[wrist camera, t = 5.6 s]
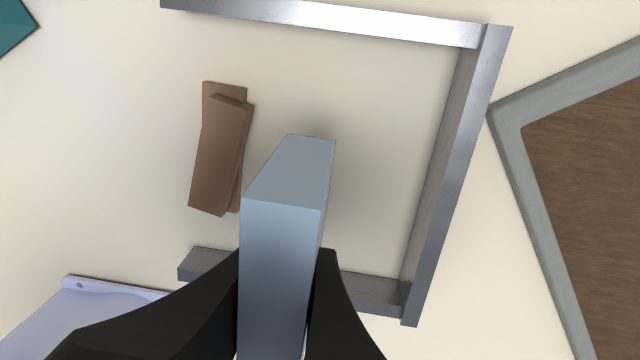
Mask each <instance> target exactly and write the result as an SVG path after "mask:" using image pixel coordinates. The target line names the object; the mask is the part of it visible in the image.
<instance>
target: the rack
mask: <svg viewBox="0 0 640 360" xmlns="http://www.w3.org/2000/svg"><path fill="white" fill-rule="evenodd" d="M160 8H167V9H173V10H179V11H186V12H193V13H201V14H208V15H216V16H224V17H231V18H239V19H247V20H254V21H262V22H270V23H277V24H285V25H292V26H300V27H308V28H315V29H323V30H331V31H338V32H346V33H354V34H361V35H369V36H376V37H384V38H392V39H399V40H407V41H415V42H422V43H430V44H438V45H445V46H453V47H460V48H461V51H460V55H459V59H458V62H457V66H456V70H455V73H454V77H453V81H452V84H451V88H450V92H449V96H448V99H447V103H446V107H445V110H444V114H443V118H442V121H441V125H440V129H439V132H438V136H437V140H436V143H435V147H434V151H433V154H432V158H431V162H430V166H429V169H428V173H427V177H426V180H425V184H424V188H423V191H422V195H421V199H420V202H419V206H418V210H417V213H416V217H415V221H414V225H413V228H412V232H411V236H410V239H409V243H408V247H407V250H406V254H405V258H404V261H403V265H402V269H401V272H400V276H399V280H395V279H389V278H383V277H377V276H371V275H365V274H359V273H353V272H347V271H341V270H340V273H341V276H342V279H343V282H344V285H345V288H346V290H347V293H348V295H349V297H350V300H351V302H352V304H353V306H354V308H355V310H356V311H357V312H363V313H369V314H375V315H380V316H386V317H392V318H398V319H399V320H400V325H403V326H409V327H415V328H417V325H418V322H419V318H420V315H421V312H422V309H423V306H424V303H425V300H426V297H427V294H428V291H429V287H430V284H431V281H432V278H433V275H434V272H435V269H436V266H437V263H438V260H439V256H440V253H441V250H442V247H443V244H444V241H445V238H446V235H447V232H448V229H449V225H450V222H451V219H452V216H453V213H454V210H455V207H456V204H457V201H458V198H459V194H460V191H461V188H462V185H463V182H464V179H465V176H466V173H467V170H468V166H469V163H470V160H471V157H472V154H473V151H474V148H475V145H476V142H477V139H478V135H479V132H480V129H481V126H482V123H483V120H484V117H485V114H486V111H487V108H488V104H489V101H490V98H491V95H492V92H493V89H494V86H495V83H496V80H497V77H498V73H499V70H500V67H501V64H502V61H503V58H504V55H505V52H506V49H507V46H508V42H509V39H510V36H511V33H512V30H513V27H512V26H504V25H496V24H480V23H472V22H464V21H457V20H449V19H441V18H433V17H425V16H417V15H409V14H401V13H394V12H386V11H378V10H370V9H362V8H354V7H346V6H338V5H331V4H323V3H315V2H307V1H299V0H160ZM231 253H233V252H227V251H221V250H216V249H210V248H204V247H198V246H194V248H193V249H192V250H191V251H190V253H189V254H188V255H187V256H186V258H185V259H184V260H183V261H182V263H181V264H180V265H179V267H178V268H177V274H178V281H184V282H189V283H190V282H192V281H194V280H195V279H197V278H198V277H200V276H201V275H203V274H204V273H206V272H207V271H209V270H210V269H211V268H213V267H214V266H216V265H217V264H218V263H220V262H221V261H222V260H224V259H225V258H226V257H227V256H229V255H230V254H231Z"/></svg>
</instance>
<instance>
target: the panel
mask: <svg viewBox="0 0 640 360" xmlns="http://www.w3.org/2000/svg"><path fill="white" fill-rule="evenodd" d="M335 145H336V140H329V139H322V138H315V137H309V136H302V135H295V134H287V135H286V137H285V138H284V140H283V141H282V142H281V144H280V145H279V146H278V148H277V149H276V150H275V152H274V153H273V154H272V156H271V157H270V159H269V160H268V161H267V163H266V164H265V165H264V167H263V168H262V169H261V171H260V172H259V173H258V175H257V176H256V178H255V179H254V180H253V182H252V183H251V184H250V186H249V187H248V188H247V190H246V191H245V192H244V194H243V195H242V196H241V201H240V240H239V279H238V318H237V357H236V360H303V356H304V350H305V345H306V336H307V322H308V315H309V308H310V301H311V294H312V287H313V280H314V273H315V266H316V260H317V255H318V250H319V247H321V241H322V235H323V228H324V221H325V214H326V207H327V200H328V193H329V186H330V179H331V172H332V166H333V159H334V152H335Z"/></svg>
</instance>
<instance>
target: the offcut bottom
mask: <svg viewBox="0 0 640 360" xmlns="http://www.w3.org/2000/svg"><path fill="white" fill-rule="evenodd" d="M215 93H218V94H221V95H224V96H227V97H229V98H232V99H235V100H238V101H240V102H243V103H246V101H247V88H244V87H239V86H233V85H228V84H222V83H217V82H211V81H203V82H202V123H203V118H204V112H205V107H206V101H207V96H210V95H212V94H215ZM242 160H243V152H242V156H241V160H240V164H239V168H238V172H237V176H236V180H235V185H234V189H233V193H232V197H231V201H230V205H229V209H228V210H227V212H231V213H237V212H238V211H239V205H240V190H241V175H242Z"/></svg>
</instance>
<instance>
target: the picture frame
mask: <svg viewBox="0 0 640 360" xmlns="http://www.w3.org/2000/svg"><path fill="white" fill-rule="evenodd" d="M485 116H486V119H487V122H488V125H489V128H490V130H491V133H492V136H493V138H494V141H495V144H496V146H497V149H498V152H499V155H500V157H501V160H502V163H503V165H504V168H505V171H506V173H507V176H508V179H509V182H510V184H511V187H512V190H513V192H514V195H515V198H516V200H517V203H518V206H519V209H520V211H521V214H522V217H523V219H524V222H525V225H526V227H527V230H528V233H529V236H530V238H531V241H532V244H533V246H534V249H535V252H536V254H537V257H538V260H539V262H540V265H541V268H542V271H543V273H544V276H545V279H546V281H547V284H548V287H549V289H550V292H551V295H552V298H553V300H554V303H555V306H556V308H557V311H558V314H559V316H560V319H561V322H562V325H563V327H564V330H565V333H566V335H567V338H568V341H569V343H570V346H571V349H572V352H573V354H574V357H575V360H640V36H638V37H635V38H633V39H631V40H629V41H627V42H624V43H622V44H620V45H618V46H616V47H614V48H611V49H609V50H607V51H605V52H603V53H601V54H598V55H596V56H594V57H592V58H590V59H588V60H585V61H583V62H581V63H579V64H577V65H574V66H572V67H570V68H568V69H566V70H564V71H561V72H559V73H557V74H555V75H553V76H551V77H548V78H546V79H544V80H542V81H540V82H537V83H535V84H533V85H531V86H529V87H527V88H524V89H522V90H520V91H518V92H516V93H514V94H511V95H509V96H507V97H505V98H503V99H501V100H498V101H496V102H494V103H492V104H490V105H488V108H487V111H486V114H485Z"/></svg>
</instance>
